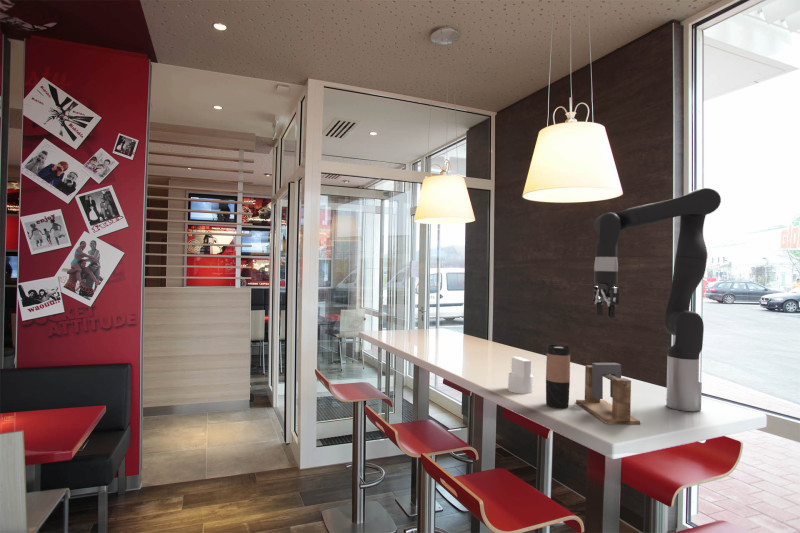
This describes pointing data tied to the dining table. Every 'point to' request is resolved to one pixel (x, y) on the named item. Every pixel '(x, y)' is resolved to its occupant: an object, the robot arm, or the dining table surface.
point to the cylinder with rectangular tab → (520, 376)
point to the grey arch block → (597, 377)
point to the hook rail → (603, 409)
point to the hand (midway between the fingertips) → (604, 316)
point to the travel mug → (557, 376)
